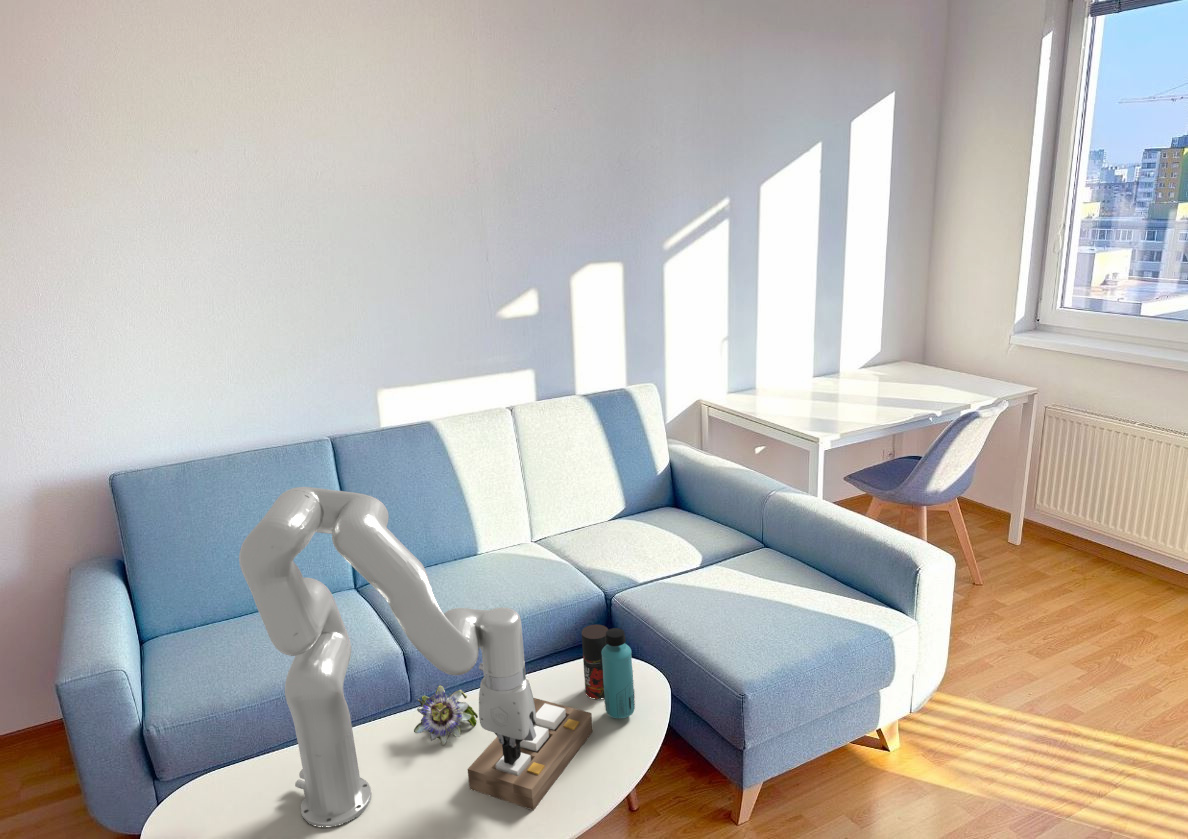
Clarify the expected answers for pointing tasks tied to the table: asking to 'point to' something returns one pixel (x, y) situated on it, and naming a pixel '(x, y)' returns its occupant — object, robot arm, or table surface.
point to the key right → (550, 716)
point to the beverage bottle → (617, 675)
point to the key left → (514, 765)
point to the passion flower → (444, 715)
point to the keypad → (532, 761)
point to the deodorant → (593, 659)
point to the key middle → (536, 739)
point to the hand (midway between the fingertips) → (512, 759)
